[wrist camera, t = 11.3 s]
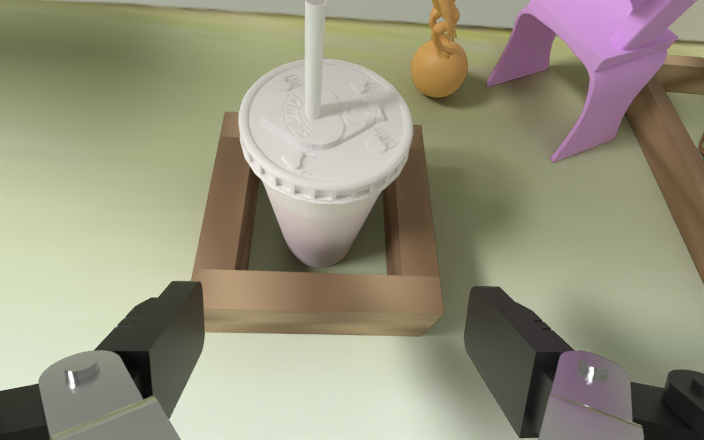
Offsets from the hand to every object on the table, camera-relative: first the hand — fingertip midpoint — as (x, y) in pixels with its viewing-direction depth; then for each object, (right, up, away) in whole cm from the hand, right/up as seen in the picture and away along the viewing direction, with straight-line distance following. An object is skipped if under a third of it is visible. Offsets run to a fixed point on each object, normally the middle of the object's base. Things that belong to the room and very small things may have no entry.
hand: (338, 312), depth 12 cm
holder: (-1, +2, +11) cm, 12 cm away
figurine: (+5, +13, +19) cm, 23 cm away
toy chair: (+15, +11, +19) cm, 27 cm away
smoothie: (-1, +2, +11) cm, 11 cm away
